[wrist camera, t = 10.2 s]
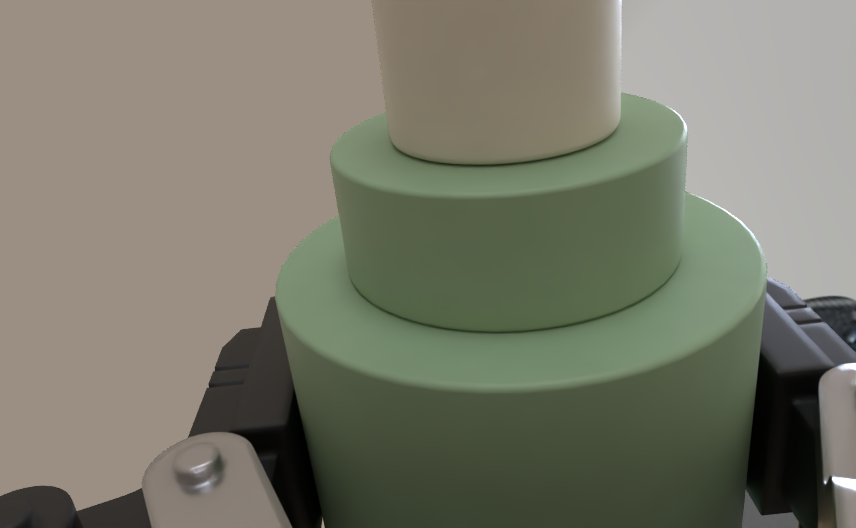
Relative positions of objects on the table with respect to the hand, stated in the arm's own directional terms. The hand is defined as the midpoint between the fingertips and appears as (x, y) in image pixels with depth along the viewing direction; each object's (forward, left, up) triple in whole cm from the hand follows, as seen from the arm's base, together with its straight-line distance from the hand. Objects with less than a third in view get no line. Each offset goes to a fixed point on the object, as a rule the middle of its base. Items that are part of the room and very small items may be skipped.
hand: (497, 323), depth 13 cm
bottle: (+1, -2, -12) cm, 12 cm away
